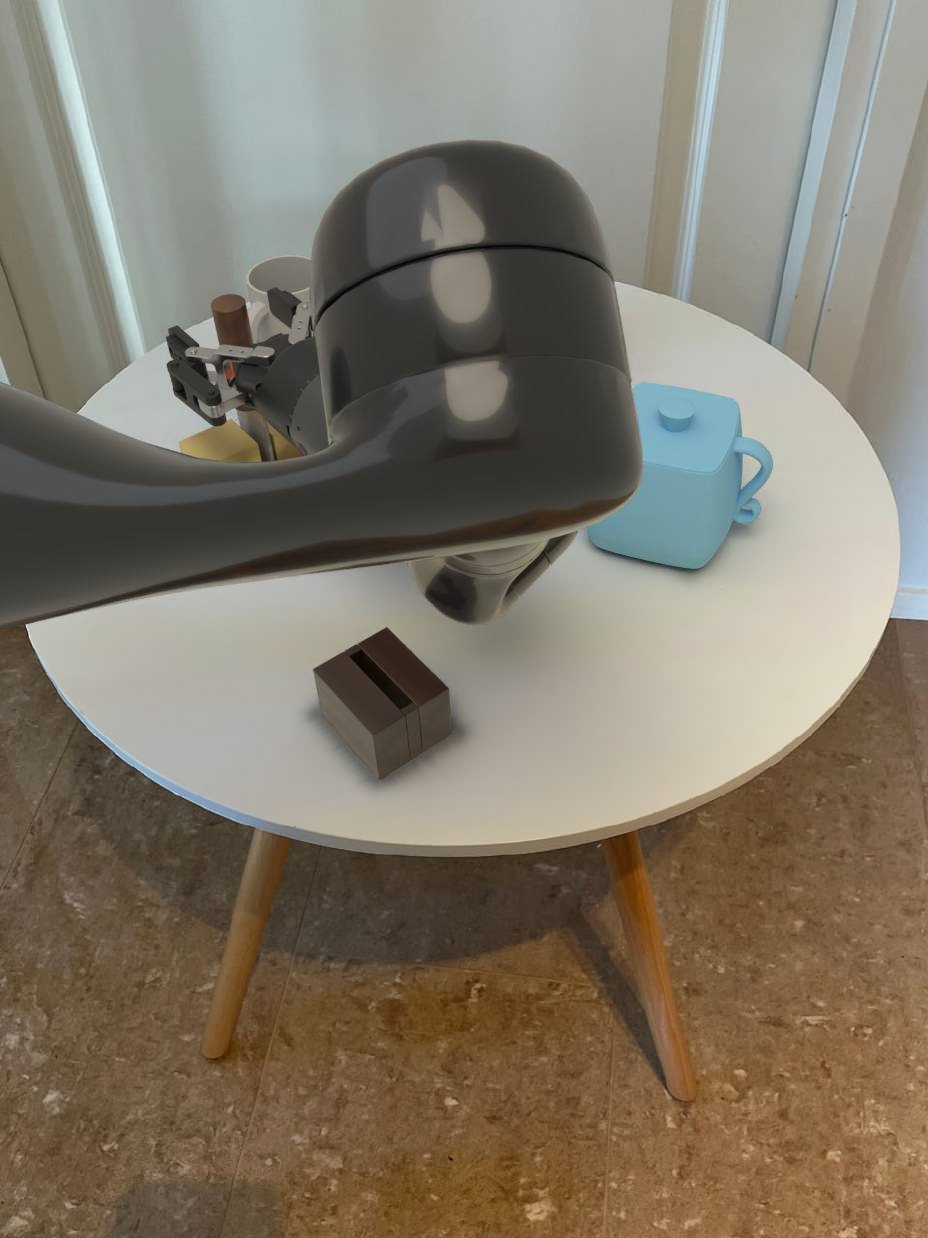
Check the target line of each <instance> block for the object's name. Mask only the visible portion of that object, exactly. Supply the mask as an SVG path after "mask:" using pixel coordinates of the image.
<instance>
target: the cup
mask: <svg viewBox="0 0 928 1238" xmlns="http://www.w3.org/2000/svg"><path fill="white" fill-rule="evenodd" d="M310 264H311V257H308V256H304V255H295V254H290V255H289V254H288V255H279V256H273V257H270V258H266V259H264V260H262V261H259V262H257V263H255V264H254V265H253V266H251V268H249V270H248V271H247V272H246V275H245V282H246V288H247V293H248V299H249V303H250V306H249V307H247V312H248V317H249V322H250V327H251V332H252V338H253V343H254V344H256V343H260V342H264V341H266V340H267V339H269V338H270V337H272V336H274V335H277V334H279V333H282V334H283V335H284V334H289V333H290V332H291V329H290V328H289V327H287V326H286V325H285V324H284V323H282V322H281V321H280V320H278V319H277V318H276V317H275V316H273V314H272V313H271V311H270V307H269V302H268V296H267V290H269V289H272V288H274V287H277V288H278V289H280V290H281V291H287V292H290V293H291V294H293V296H295V297H296V298H298V299H299V300H301V301H302V302H310V294H309V278H310Z"/></svg>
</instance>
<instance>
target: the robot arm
mask: <svg viewBox="0 0 928 1238" xmlns="http://www.w3.org/2000/svg"><path fill="white" fill-rule="evenodd" d="M312 241H313V242H312V249H311V250H312V251H311V257H310V258H311V264H310V278H309V294H310V302H302V301H301V300H299V299H298V298H296V297H295V296H293V294H291V293H290V292H287V291H281V290H280V289H278V288H277V287H274V288H272V289H269V290H267V296H268V302H269V307H270V311H271V313H272V314H273V316H275V317H276V318H277V319H278V320H280V321H281V322H282V323H284V324H285V325H286V326H287V327H289V328H290V329H291V332H290V333H289V334H284V335H283V334H282V333H279V334H277V335H274V336H272V337H270V338H269V339H267V340H266V341H264V342H260V343H256V344H252V345H250V346H248V347H240V346H232V345H225V344H222V345H220V346H218V348H209V347H202V346H201V345H200V343H198V342H197V341H196V340H195V339H194V338H193V337H192V336H191V335H189V334H188V333H187V332H186V331H185V330H184V329H183V328H181V327H180V326H179V325H178V324H177V325H173V326H172V327H171V326H170V327H169V328H167V332H168V335H167V336H165V339H166V345H167V349H168V353H169V355H170V358H171V360H169V361H168V362H167V363H166V369H167V372H168V374H169V378H170V382H171V385H172V392H173V394H174V397H176V398H177V399H178V400H180V401H181V402H182V403H183V404H184V405H186V406H187V407H188V408H189V409H191V410H192V411H193V412H194V413H196V415H198V416H199V417H201V419H203V420H204V421H205V422H207V424H209V425H210V426H211V427H213V426H222V425H224V424H225V423H226V421H227V420H228V419H227V415H226V413H229V412H230V411H232V410H234V409H235V408H236V407H238V406H240V405H244V406H246V407H249V408H253V409H256V410H258V411H259V412H260V413H261V414H262V415H263V417H264V418H265V419H266V420H267V422H268V423H269V424H270V425H271V426H272V427H273V428H274V429H275V430H276V431H277V432H278V433H280V434H281V435H282V436H283V437H284V438H285V439H286V440H287V441H289V442H290V443H291V444H292V445H293V446H294V447H295V448H296V449H297V450H299V451H300V452H301V454H302V455H303V456H302V457H297V458H291V459H285V460H277V461H265V462H226V461H219V460H212V459H205V458H198V457H194V456H191V455H187V454H184V453H181V451H177V450H174V449H173V450H172V449H169V448H166V447H162V446H158V445H156V444H152V443H150V442H146V441H144V440H143V441H142V440H140V439H138V438H135V437H132V436H130V435H128V434H125V433H123V432H120V431H117V430H115V429H112V428H110V427H107V426H106V425H104V424H101V423H99V422H97V421H94V420H93V419H90V418H89V417H86V416H83V415H81V414H79V413H77V412H75V411H73V410H70V409H68V408H66V407H64V406H61V405H59V404H57V403H55V402H52V401H50V400H48V399H46V398H44V397H42V396H39V395H36V394H34V393H31V392H28V391H26V390H23V389H21V388H18V387H16V386H13V385H10V384H8V383H5V382H2V381H0V631H4V630H8V629H11V628H12V629H13V628H16V627H21V626H25V625H30V624H35V623H39V622H42V621H46V620H52V619H57V618H60V617H64V616H69V615H70V616H71V615H74V614H78V613H82V612H87V611H91V610H95V609H96V610H97V609H101V608H106V607H110V606H115V605H120V604H124V603H130V602H135V601H139V600H144V599H145V600H146V599H149V598H156V597H160V596H161V597H162V596H166V595H172V594H177V593H183V592H189V591H197V590H203V589H210V588H216V587H225V586H232V585H238V584H240V585H241V584H247V583H254V582H262V581H270V580H279V579H284V578H293V577H301V576H311V575H318V574H325V573H333V572H341V571H349V570H356V569H365V568H372V567H379V566H380V567H381V566H388V565H396V564H404V563H407V566H408V570H409V572H410V575H411V578H412V580H413V583H414V584H415V586H416V588H417V590H418V591H419V593H420V594H421V596H422V597H423V598H424V599H425V601H426V602H427V603H428V604H429V605H430V606H431V607H432V608H433V609H435V610H436V612H438V613H439V614H441V615H442V616H444V617H445V618H447V619H448V620H451V622H452V621H453V622H455V623H456V624H461V625H464V626H468V627H469V626H470V627H482V626H487V625H489V624H491V623H493V622H495V621H497V620H499V618H501V617H502V616H504V614H506V612H508V611H509V609H511V608H512V607H513V606H514V605H515V604H516V603H517V602H518V600H520V598H521V597H523V596H524V595H525V593H526V592H527V591H528V590H529V589H530V588H531V587H532V586H533V585H534V584H535V583H536V582H537V581H538V580H539V579H540V578H541V576H543V575H544V574H545V572H546V571H548V570H549V568H550V566H552V565H553V564H555V562H557V560H558V559H560V557H561V556H562V555H564V553H565V552H566V551H567V550H568V549H569V548H570V546H571V545H572V543H573V542H574V541H575V539H576V537H577V534H578V531H580V530H582V529H584V528H587V526H590V525H593V524H595V523H598V522H600V521H602V520H603V519H605V518H607V517H608V516H610V515H612V514H614V513H615V512H617V511H619V510H620V509H622V508H623V507H624V506H625V505H626V504H627V503H628V502H630V501H631V499H632V498H633V497H634V496H635V494H636V493H637V491H638V489H639V487H640V485H641V483H642V478H643V473H644V468H643V449H642V441H641V433H640V427H639V421H638V415H637V409H636V403H635V396H634V393H633V390H632V388H633V386H632V380H633V379H632V373H631V368H630V362H629V355H628V350H627V344H626V339H625V333H624V327H623V322H622V317H621V311H620V305H619V299H618V294H617V287H616V285H615V282H616V281H615V278H614V271H613V265H612V261H611V256H610V251H609V247H608V243H607V240H606V237H605V234H604V231H603V228H602V226H601V223H600V221H599V219H598V216H597V213H596V211H595V209H594V206H593V204H592V202H591V199H590V197H589V196H588V194H587V192H586V191H585V190H584V188H583V187H582V186H581V184H580V183H579V182H578V181H577V179H575V177H574V175H573V174H572V173H570V171H568V170H567V169H566V168H565V167H564V166H562V165H561V164H559V163H558V162H557V161H555V160H554V159H553V158H552V157H550V156H548V155H547V154H543V153H541V152H539V151H536V150H534V149H533V148H529V147H527V146H525V145H520V144H516V143H512V142H511V143H510V142H507V141H501V140H497V139H495V140H494V139H460V140H458V139H457V140H449V141H442V142H441V141H440V142H434V143H430V144H425V145H420V146H418V147H413V148H410V149H407V150H405V151H402V152H400V153H396V154H394V155H391V156H389V157H386V158H384V159H382V160H380V161H378V162H377V163H375V164H374V165H372V166H370V167H368V168H366V169H365V170H363V171H362V172H360V173H359V174H358V175H356V176H355V177H354V178H353V179H352V180H351V181H349V183H347V184H346V185H345V186H344V187H343V188H342V189H341V190H339V191H338V193H336V196H335V197H334V198H333V199H332V201H331V202H330V203H329V205H328V206H327V207H326V209H325V211H324V212H323V214H322V217H321V220H320V222H319V224H318V227H317V229H316V232H315V234H314V237H313V240H312ZM231 361H232V362H239V363H238V368H237V374H236V377H235V375H234V372H233V367H232V362H231ZM207 364H208V365H212V366H213V367H214V369H215V371H214V370H208V369H207Z"/></svg>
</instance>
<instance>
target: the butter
mask: <svg viewBox="0 0 928 1238" xmlns="http://www.w3.org/2000/svg"><path fill="white" fill-rule="evenodd" d="M267 425H268V430H269V435H270V440H271V445H272V450H273V455H274V460H275V461H277V460H285V459H291V458H297V457H302V456H303V455H302V454H301V452H300V451H299V450H297V449H296V448H295V447H294V446H293V445H292V444H291V443H290V442H289V441H287V440H286V439H285V438H284V437H283V436H282V435H281V434H280V433H278V432H277V431H276V430H275V429H274V428H273V427H272V426H271V425H270V424H269V423H268V422H267ZM178 446H179V451H180V453H184V454H187V455H191V456H194V457H198V458H205V459H212V460H219V461H226V462H262V461H261V456H260V451H259V446H258V443H257V442H256V441H255V440H253V439H252V438H251V437H250V436H249V435H248V434H247V433H246V432H245V431H244V430H243V429H242V428H241V427H240V425H239V424H237V423H236V421H235V420H233V419H232V418H229V419H227V421H226V423H225V424H224V425H222V426H211V427H208V428H206V429H204V430H201V431H200V432H198V433H195V434H193V435H190V436H188V437H186V438H183V439H182V440H179V441H178Z"/></svg>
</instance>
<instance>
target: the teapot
mask: <svg viewBox="0 0 928 1238" xmlns="http://www.w3.org/2000/svg"><path fill="white" fill-rule="evenodd" d="M632 390H633V393H634V396H635V403H636V409H637V415H638V421H639V427H640V433H641V441H642V449H643V468H644V473H643V478H642V483H641V485H640V487H639V489H638V491H637V493H636V494H635V496H634V497H633V498H632V499H631V501H630V502H628V503H627V504H626V505H625V506H624V507H623V508H622V509H620V510H619V511H617V512H615V513H614V514H612V515H610V516H608V517H607V518H605V519H603V520H602V521H600V522H598V523H595V524H593V525H590V526H587V527H586V530H587V533H588V534H587V535H588V537H589V538H590V540H591V542H592V544H593V545H594V546H596V547H598V548H600V549H603V550H604V551H608V552H612V553H616V554H619V555H622V556H627V557H631V558H635V559H640V560H644V561H648V562H653V563H656V564H662V565H667V566H672V567H678V568H685V569H695V570H697V569H701V568H702V567H705V566H706V564H708V563H709V561H710V560H711V559H712V558H713V557H714V556H715V554H716V553H717V551H718V550H719V548H720V547H721V545H722V543H723V542H724V541H725V538H726V536H727V535H728V533H729V532H730V531H729V530H730V529H731V527H732V524H733V522H734V523H737V524H741V525H749V524H752V523H754V522H755V521H756V520H757V519H759V517H760V515H761V512H762V505H761V503H760V500H758V499H757V498H754V496H755V495H756V494H757V493H758V492H759V491H760V490H761V489H762V488H763V487H764V486H765V484H766V483H767V482H768V480H769V479H770V477H771V475H772V472H773V470H774V458H773V456H772V453H771V452H770V450H769V449H768V448H767V447H766V446H765V445H764V444H763V443H761V442H760V441H758V440H756V439H754V438H752V437H747V436H743V427H742V415H741V408H740V405H739V403H738V401H737V400H735V398H732V397H728V396H725V395H722V394H721V395H720V394H716V393H712V392H707V391H704V390H703V391H702V390H697V389H693V388H687V387H681V386H674V385H669V384H662V383H655V382H648V381H647V382H646V381H641V382H639V383H637V384H635V385H634V386H632ZM744 455H747V456H749V457H751V458H753V459H755V460H756V461H757V462H758V463H759V464H760V468H759V470H758V471H757V473H756V474H755V475H754V477H753V478H751V480H750V481H748V483H746V484H745V485H744V486H743V487H742V482H743V466H744ZM743 507H744V508H743ZM746 508H747V509H746Z"/></svg>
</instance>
